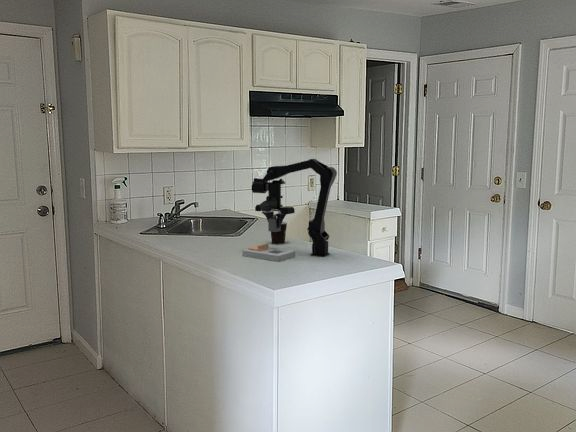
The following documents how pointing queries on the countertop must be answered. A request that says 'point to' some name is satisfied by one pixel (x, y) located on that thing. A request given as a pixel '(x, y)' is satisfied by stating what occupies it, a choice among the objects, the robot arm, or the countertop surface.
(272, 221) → the plug
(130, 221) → the countertop surface
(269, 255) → the socket plate
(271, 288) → the countertop surface
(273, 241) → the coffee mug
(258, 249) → the shutter
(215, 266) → the countertop surface
